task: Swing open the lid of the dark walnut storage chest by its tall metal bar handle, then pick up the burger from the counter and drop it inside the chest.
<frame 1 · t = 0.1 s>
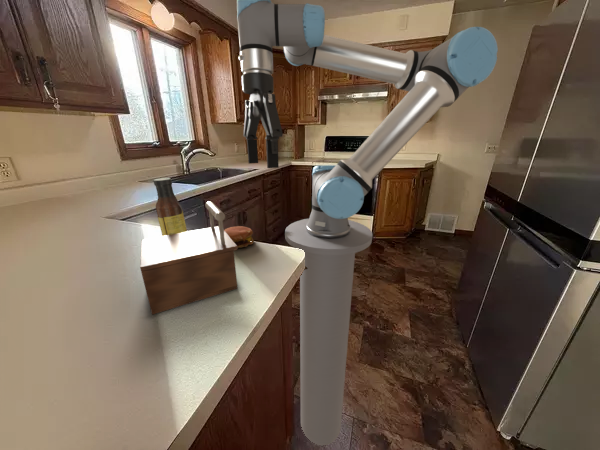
hand: (262, 165, 66), 23 cm above the counter, tool pointing down, fingers open, 13 cm apart
chest: (192, 283, 53), on the counter
sauce bottle: (177, 249, 69), on the counter
lid: (185, 228, 49), point 13 cm above the counter, hinge at 0.0°
burger: (238, 243, 73), on the counter
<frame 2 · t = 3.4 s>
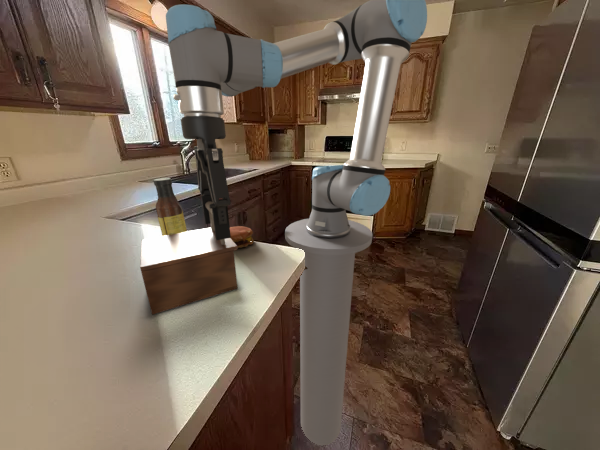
hand: (216, 229, 52), 11 cm above the counter, tool pointing down, fingers closed on lid, 10 cm apart
lid: (185, 228, 49), point 13 cm above the counter, hinge at 0.0°, touching gripper
everything else where it was.
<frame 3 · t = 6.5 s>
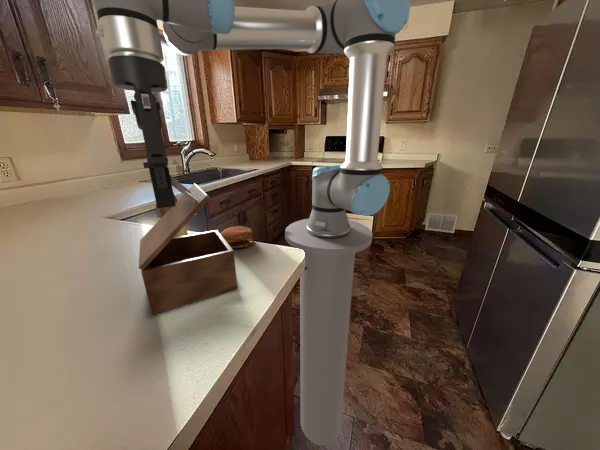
hand: (164, 200, 45), 19 cm above the counter, tool pointing down, fingers closed on lid, 10 cm apart
lid: (156, 210, 45), point 17 cm above the counter, hinge at 41.6°, touching gripper
everything else where it was.
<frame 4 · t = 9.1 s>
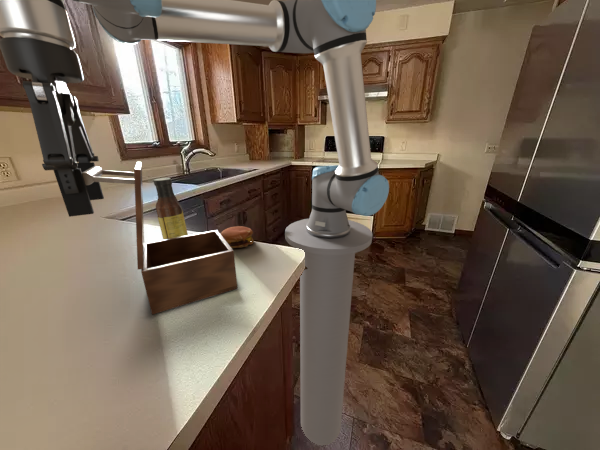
hand: (88, 206, 40), 19 cm above the counter, tool pointing down, fingers closed on lid, 10 cm apart
lid: (116, 211, 42), point 18 cm above the counter, hinge at 80.6°, touching gripper
everything else where it was.
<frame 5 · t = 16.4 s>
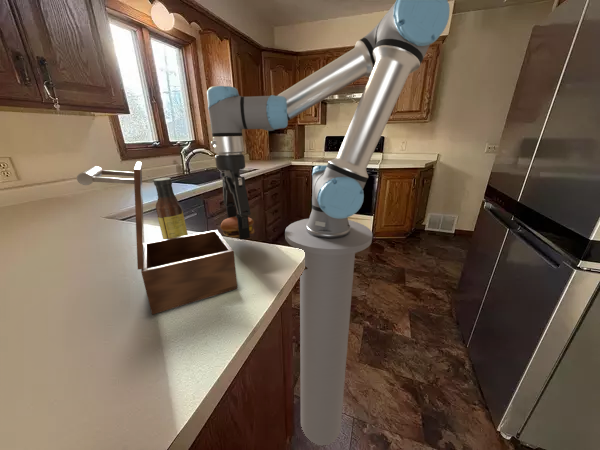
hand: (238, 232, 72), 4 cm above the counter, tool pointing down, fingers closed on burger, 10 cm apart
lid: (116, 211, 42), point 18 cm above the counter, hinge at 80.8°
burger: (239, 233, 72), point 3 cm above the counter, touching gripper
everything else where it was.
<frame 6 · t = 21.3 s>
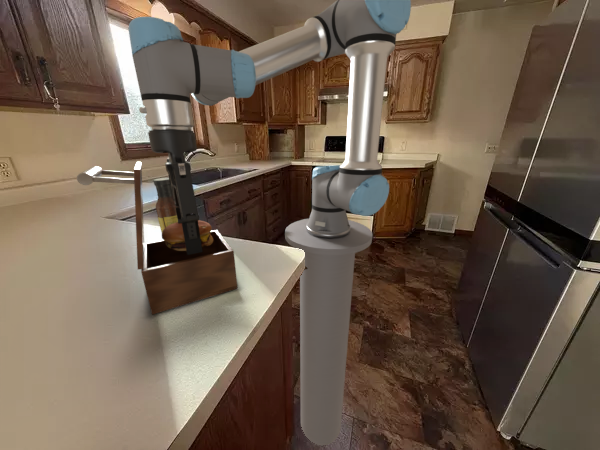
hand: (190, 243, 51), 9 cm above the counter, tool pointing down, fingers closed on burger, 10 cm apart
burger: (191, 244, 51), point 9 cm above the counter, touching gripper
everything else where it was.
when the fingers open (10 cm above the counter, at t = 26.9 s): burger drops 8 cm, resting on chest.
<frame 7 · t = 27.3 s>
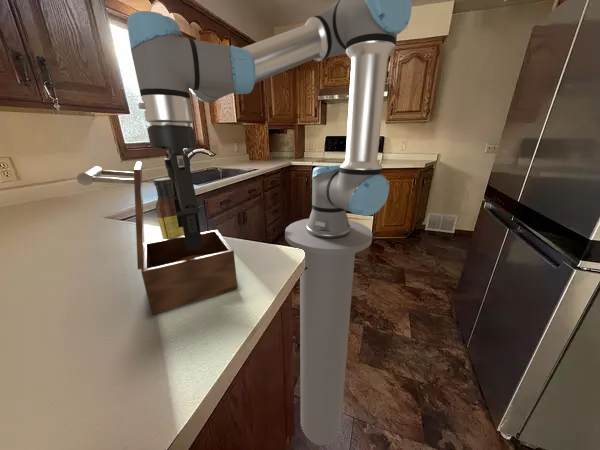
hand: (189, 235, 51), 11 cm above the counter, tool pointing down, fingers open, 13 cm apart
burger: (197, 279, 53), point 1 cm above the counter, touching chest
everything else where it was.
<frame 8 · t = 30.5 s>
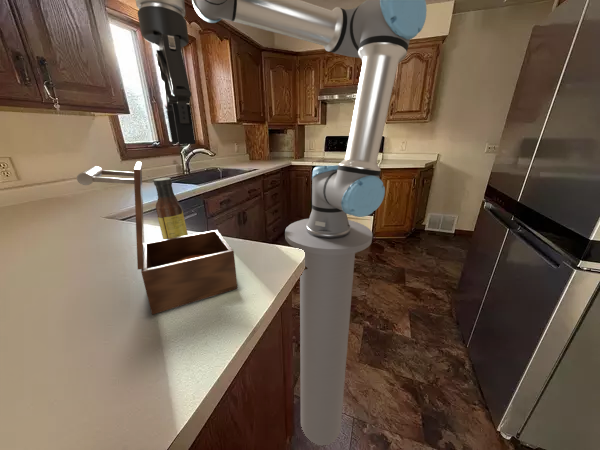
hand: (182, 143, 49), 29 cm above the counter, tool pointing down, fingers open, 13 cm apart
nothing on the counter moved.
at the end: lid at +81° (first picture: +0°); burger inside the target area in the chest (1.0 cm from its centre), point 0.6 cm above the chest's base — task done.
